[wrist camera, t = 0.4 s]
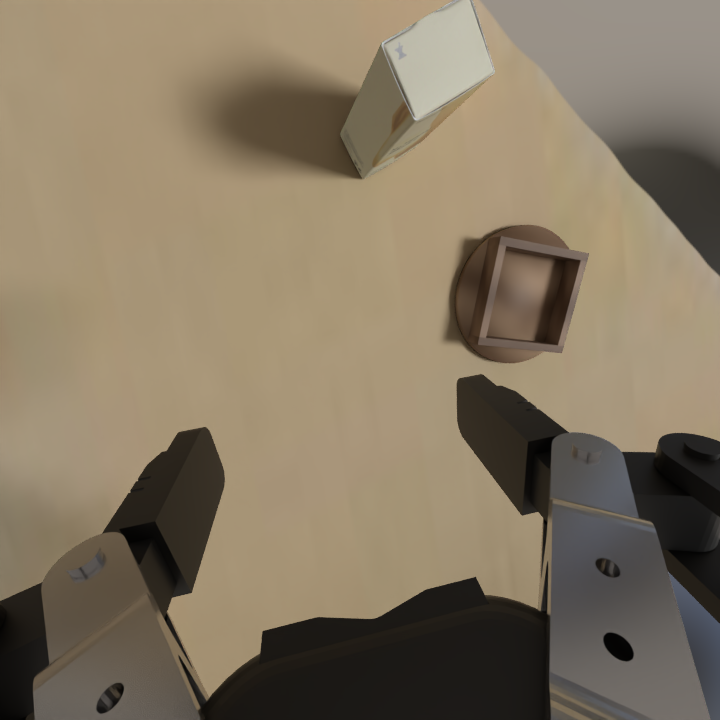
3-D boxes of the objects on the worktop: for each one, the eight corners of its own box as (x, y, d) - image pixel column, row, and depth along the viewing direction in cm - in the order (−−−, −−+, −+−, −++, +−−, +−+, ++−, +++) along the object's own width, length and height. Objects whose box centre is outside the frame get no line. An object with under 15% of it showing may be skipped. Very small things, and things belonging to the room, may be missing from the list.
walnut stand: (471, 214, 34) (487, 209, 31) (587, 238, 38) (610, 236, 35) (443, 356, 37) (455, 362, 35) (553, 365, 41) (571, 372, 38)
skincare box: (362, 181, 31) (410, 126, 19) (337, 133, 30) (374, 43, 18) (419, 146, 31) (500, 72, 20) (397, 97, 30) (471, -14, 18)
